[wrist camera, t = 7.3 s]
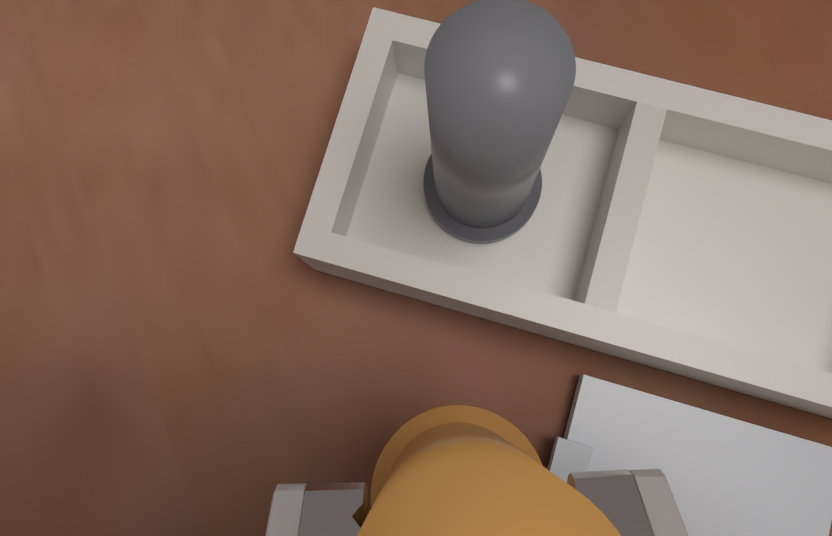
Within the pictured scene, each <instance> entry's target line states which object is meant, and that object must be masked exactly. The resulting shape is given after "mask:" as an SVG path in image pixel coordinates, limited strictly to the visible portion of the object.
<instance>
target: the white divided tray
mask: <svg viewBox="0 0 832 536" xmlns="http://www.w3.org/2000/svg"><path fill="white" fill-rule="evenodd" d="M440 25H441V24H439V23H435V22H431V21H427V20H423V19H419V18H415V17H411V16H406V15H402V14H398V13H394V12H390V11H386V10H382V9H378V8H374V7H373V9H372V12H371V15H370V18H369V21H368V25H367V28H366V31H365V34H364V37H363V40H362V43H361V46H360V49H359V52H358V55H357V58H356V61H355V64H354V67H353V70H352V74H351V77H350V80H349V83H348V86H347V89H346V92H345V95H344V98H343V101H342V104H341V107H340V110H339V113H338V116H337V120H336V123H335V126H334V129H333V132H332V135H331V138H330V141H329V144H328V147H327V150H326V153H325V156H324V159H323V162H322V165H321V169H320V172H319V175H318V178H317V181H316V184H315V187H314V190H313V193H312V196H311V199H310V202H309V205H308V208H307V211H306V214H305V218H304V221H303V224H302V227H301V230H300V233H299V236H298V239H297V242H296V245H295V248H294V251H293V253H294V254H295V255H297V256H298V257H299V258H300V259H302V260H303V261H304V262H305V263H307V264H308V265H309V266H310V267H312V268H313V269H314V270H317V271H321V272H324V273H327V274H331V275H334V276H338V277H341V278H345V279H348V280H352V281H355V282H359V283H362V284H366V285H369V286H373V287H376V288H379V289H383V290H386V291H390V292H393V293H397V294H400V295H404V296H407V297H411V298H414V299H418V300H421V301H425V302H428V303H431V304H435V305H438V306H442V307H445V308H449V309H452V310H456V311H459V312H463V313H466V314H470V315H473V316H477V317H480V318H484V319H487V320H490V321H494V322H497V323H501V324H504V325H508V326H511V327H515V328H518V329H522V330H525V331H529V332H532V333H536V334H539V335H542V336H546V337H549V338H553V339H556V340H560V341H563V342H567V343H570V344H574V345H577V346H581V347H584V348H588V349H591V350H594V351H598V352H601V353H605V354H608V355H612V356H615V357H619V358H622V359H626V360H629V361H633V362H636V363H640V364H643V365H647V366H650V367H653V368H657V369H660V370H664V371H667V372H671V373H674V374H678V375H681V376H685V377H688V378H692V379H695V380H699V381H702V382H705V383H709V384H712V385H716V386H719V387H723V388H726V389H730V390H733V391H737V392H740V393H744V394H747V395H751V396H754V397H757V398H761V399H764V400H768V401H771V402H775V403H778V404H782V405H785V406H789V407H792V408H796V409H799V410H803V411H806V412H809V413H813V414H816V415H820V416H823V417H827V418H830V419H832V121H831V120H827V119H823V118H819V117H815V116H811V115H807V114H803V113H799V112H795V111H791V110H787V109H783V108H779V107H775V106H771V105H767V104H762V103H758V102H754V101H750V100H746V99H742V98H738V97H734V96H730V95H726V94H722V93H718V92H714V91H710V90H706V89H702V88H698V87H694V86H690V85H686V84H682V83H678V82H673V81H669V80H665V79H661V78H657V77H653V76H649V75H645V74H641V73H637V72H633V71H629V70H625V69H621V68H617V67H613V66H609V65H605V64H601V63H597V62H593V61H589V60H584V59H580V58H576V57H575V60H576V76H575V81H574V86H573V89H572V92H571V95H570V97H569V99H568V102H567V104H566V107H565V109H564V111H563V114H562V116H561V119H560V121H559V124H558V126H557V128H556V131H555V133H554V136H553V138H552V141H551V143H550V145H549V148H548V150H547V153H546V155H545V158H544V160H543V162H542V165H541V167H540V169H541V174H542V190H541V195H540V199H539V202H538V204H537V207H536V209H535V211H534V213H533V215H532V216H531V218H530V219H529V221H528V222H527V223H526V224H525V226H524V227H523V228H522V229H520V230H519V231H518V232H517V233H515V234H514V235H512V236H511V237H509V238H506V239H504V240H502V241H498V242H495V243H489V244H475V243H469V242H465V241H462V240H459V239H457V238H455V237H453V236H451V235H450V234H448V233H447V232H445V231H444V230H443V229H442V228H441V227H440V226H439V225H438V224H437V223H436V221H435V220H434V218H433V217H432V215H431V214H430V211H429V209H428V207H427V204H426V200H425V194H424V186H423V179H424V171H425V167H426V164H427V161H428V159H429V157H430V155H431V153H432V151H431V140H430V129H429V119H428V108H427V97H426V86H425V74H424V64H425V56H426V52H427V48H428V45H429V43H430V40H431V38H432V37H433V35H434V33H435V31H436V30H437V29H438V27H439V26H440Z"/></svg>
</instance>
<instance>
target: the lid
mask: <svg viewBox="0 0 832 536" xmlns="http://www.w3.org/2000/svg"><path fill="white" fill-rule="evenodd" d="M547 469H548V470H549V471H550V472H552V473H553V474H555V475H556V476H557V477H559V478H560V479H562V480H563V481H565V482H566V483H567V479H568V475H569V474H570V472H588V471H606V470H623V469H627V470H641V469H660V470H661V471H662V472H663V473H664V474H665V476H666V479H667V481H668V484H669V486H670V489H671V492H672V494H673V497H674V499H675V502H676V505H677V507H678V510H679V512H680V515H681V518H682V520H683V523H684V525H685V528H686V531H687V533H688V536H829V531H830V526H831V521H832V447H830V446H826V445H823V444H819V443H816V442H812V441H809V440H806V439H802V438H799V437H795V436H792V435H788V434H785V433H782V432H778V431H775V430H771V429H768V428H765V427H761V426H758V425H754V424H751V423H747V422H744V421H741V420H737V419H734V418H730V417H727V416H723V415H720V414H717V413H713V412H710V411H706V410H703V409H700V408H696V407H693V406H689V405H686V404H682V403H679V402H676V401H672V400H669V399H665V398H662V397H658V396H655V395H652V394H648V393H645V392H641V391H638V390H635V389H631V388H628V387H624V386H621V385H617V384H614V383H611V382H607V381H604V380H600V379H597V378H593V377H590V376H587V375H579V379H578V383H577V387H576V391H575V395H574V399H573V402H572V406H571V410H570V414H569V418H568V422H567V426H566V430H565V434H564V437H563V438H561V437H558V436H556V437H555V441H554V445H553V449H552V453H551V457H550V461H549V464H548V468H547Z"/></svg>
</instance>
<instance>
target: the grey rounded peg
mask: <svg viewBox="0 0 832 536" xmlns="http://www.w3.org/2000/svg"><path fill="white" fill-rule="evenodd" d="M424 74H425V86H426V97H427V108H428V119H429V129H430V140H431V151H432V153H431V155H430V157H429V159H428V161H427V164H426V167H425V171H424V179H423V186H424V194H425V200H426V204H427V207H428V209H429V211H430V214H431V215H432V217H433V218H434V220H435V221H436V223H437V224H438V225H439V226H440V227H441V228H442V229H443V230H444V231H445V232H447V233H448V234H450V235H451V236H453V237H455V238H457V239H459V240H462V241H465V242H469V243H475V244H489V243H495V242H498V241H502V240H504V239H506V238H509V237H511V236H512V235H514V234H515V233H517V232H518V231H519V230H520V229H522V228H523V227H524V226H525V224H526V223H527V222H528V221H529V219H530V218H531V216H532V215H533V213H534V211H535V209H536V207H537V204H538V202H539V199H540V195H541V190H542V174H541V169H540V167H541V165H542V162H543V160H544V158H545V155H546V153H547V150H548V148H549V145H550V143H551V141H552V138H553V136H554V133H555V131H556V128H557V126H558V124H559V121H560V119H561V116H562V114H563V111H564V109H565V107H566V104H567V102H568V99H569V97H570V95H571V92H572V89H573V86H574V81H575V76H576V60H575V54H574V50H573V47H572V44H571V41H570V39H569V37H568V35H567V34H566V32H565V30H564V29H563V28H562V26H561V25H560V24H559V23H558V22H557V21H556V20H555V18H554V17H552V16H551V15H550V14H549V13H547V12H546V11H545V10H543V9H541V8H540V7H538V6H536V5H534V4H531V3H529V2H526V1H523V0H478V1H475V2H472V3H469V4H467V5H465V6H463V7H461V8H460V9H458V10H456V11H455V12H453V13H452V14H451V15H450V16H448V17H447V18H446V19H445V20H444V21H443V22H442V23H441V25H440V26H439V27H438V29H437V30H436V31H435V33H434V35H433V37H432V38H431V40H430V43H429V45H428V48H427V52H426V56H425V64H424Z"/></svg>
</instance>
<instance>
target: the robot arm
mask: <svg viewBox="0 0 832 536" xmlns="http://www.w3.org/2000/svg"><path fill="white" fill-rule="evenodd" d="M567 484H569V485H570V486H572V487H573V488H574V489H576V490H577V491H578V492H580V493H581V494H582V495H584V496H585V497H586V498H588V499H589V500H590V501H591V502H592V503H593V504H594V505H595V506H596V507H597V508H598V509H599V510H600V511H602V512H603V513H604V514H605V516H606V517H607V518H608V519H609V521H610V522H611V523H612V524H613V526H614V527H615V528H616V529H617V530H618V532H619V534H620V535H621V536H688V533H687V531H686V528H685V525H684V523H683V520H682V518H681V515H680V512H679V510H678V507H677V505H676V502H675V499H674V497H673V494H672V492H671V489H670V486H669V484H668V481H667V479H666V476H665V474H664V473H663V472H662V471H661V470H660V469H641V470H627V469H623V470H606V471H588V472H570V474H569V475H568V479H567ZM369 511H370V510H369V509H368V489H367V483H366V482H342V483H293V484H277V486H276V489H275V491H274V493H273V498H272V503H271V508H270V513H269V519H268V524H267V529H266V534H265V536H357V534H358V532H359V530H360V529H361V527H362V525H363V523H364V521H365V519H366V517H367V515H368V513H369Z"/></svg>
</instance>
